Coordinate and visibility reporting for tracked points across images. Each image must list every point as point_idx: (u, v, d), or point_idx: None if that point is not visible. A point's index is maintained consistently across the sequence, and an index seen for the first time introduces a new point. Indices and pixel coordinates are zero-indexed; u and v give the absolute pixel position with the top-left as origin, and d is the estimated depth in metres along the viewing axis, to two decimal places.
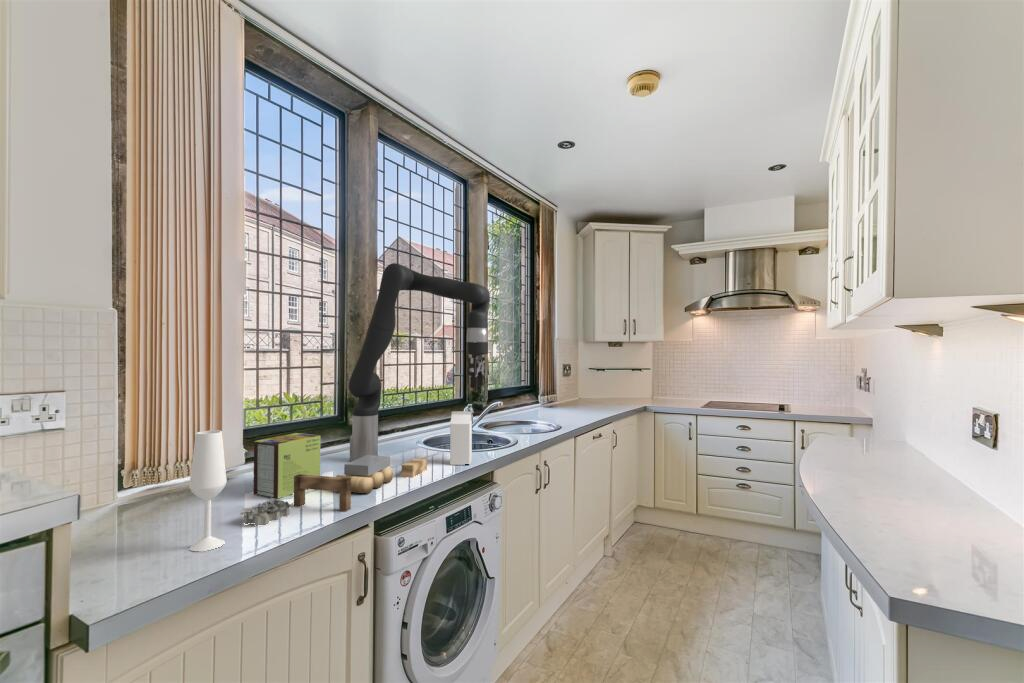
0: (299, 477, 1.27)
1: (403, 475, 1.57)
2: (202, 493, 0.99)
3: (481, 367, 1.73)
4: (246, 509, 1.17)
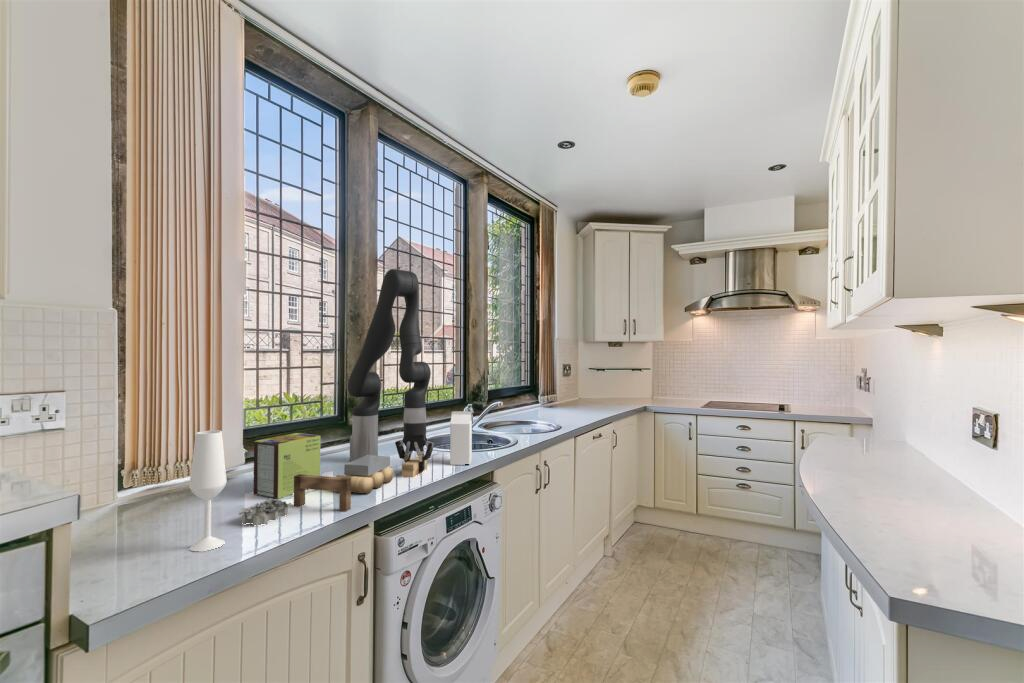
0: (299, 477, 1.27)
1: (403, 474, 1.57)
2: (202, 493, 0.99)
3: None
4: (244, 509, 1.17)
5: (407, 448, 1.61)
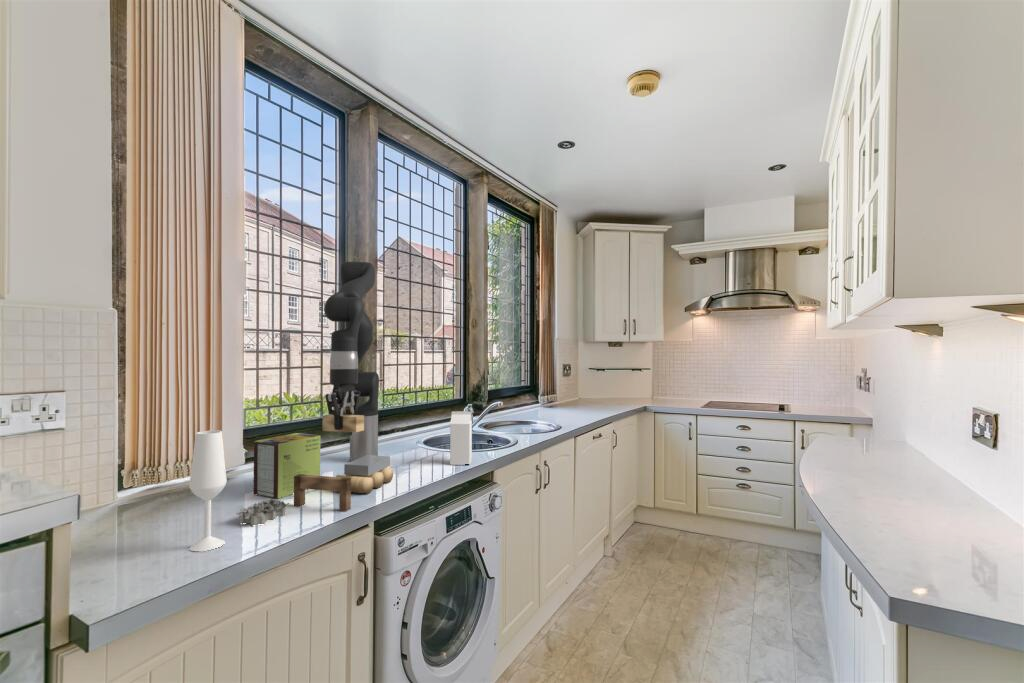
0: (299, 477, 1.27)
1: (357, 429, 1.33)
2: (202, 493, 0.99)
3: None
4: (242, 509, 1.17)
5: (345, 400, 1.33)
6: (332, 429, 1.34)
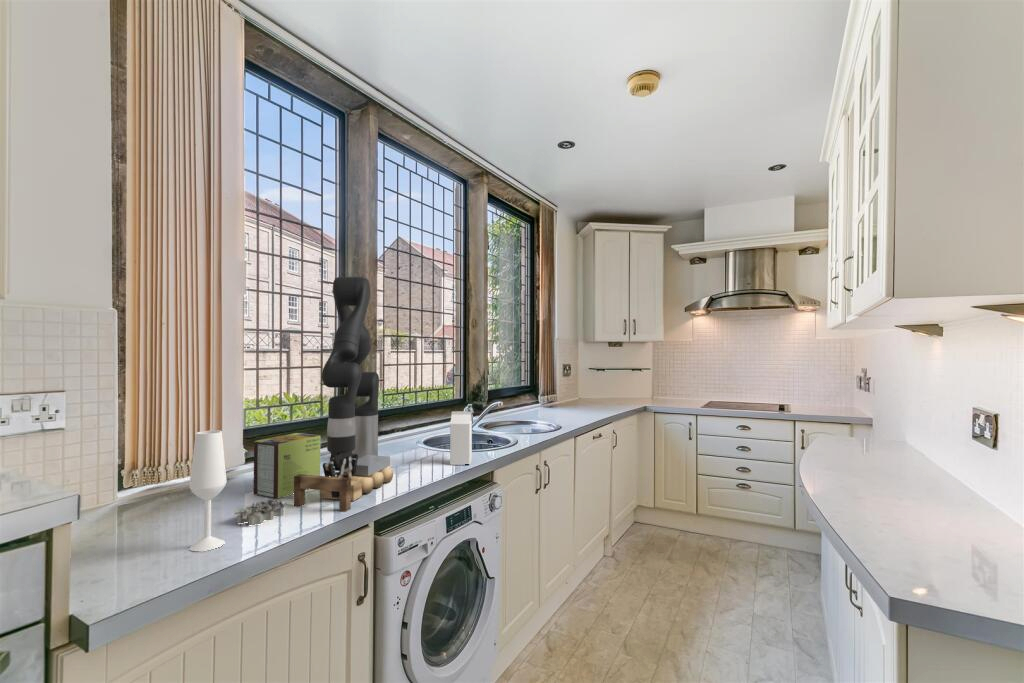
0: (299, 477, 1.27)
1: (354, 497, 1.32)
2: (202, 493, 0.99)
3: None
4: (240, 509, 1.17)
5: (342, 467, 1.33)
6: (330, 496, 1.33)
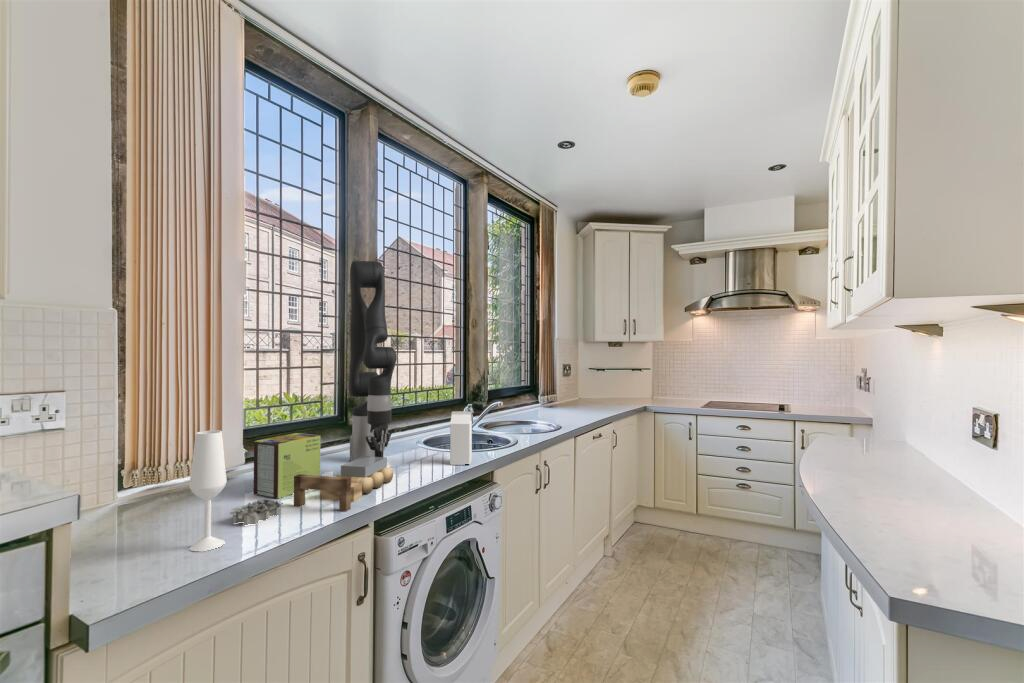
0: (299, 477, 1.27)
1: (355, 499, 1.32)
2: (202, 493, 0.99)
3: None
4: (236, 509, 1.17)
5: (382, 437, 1.53)
6: (330, 498, 1.33)
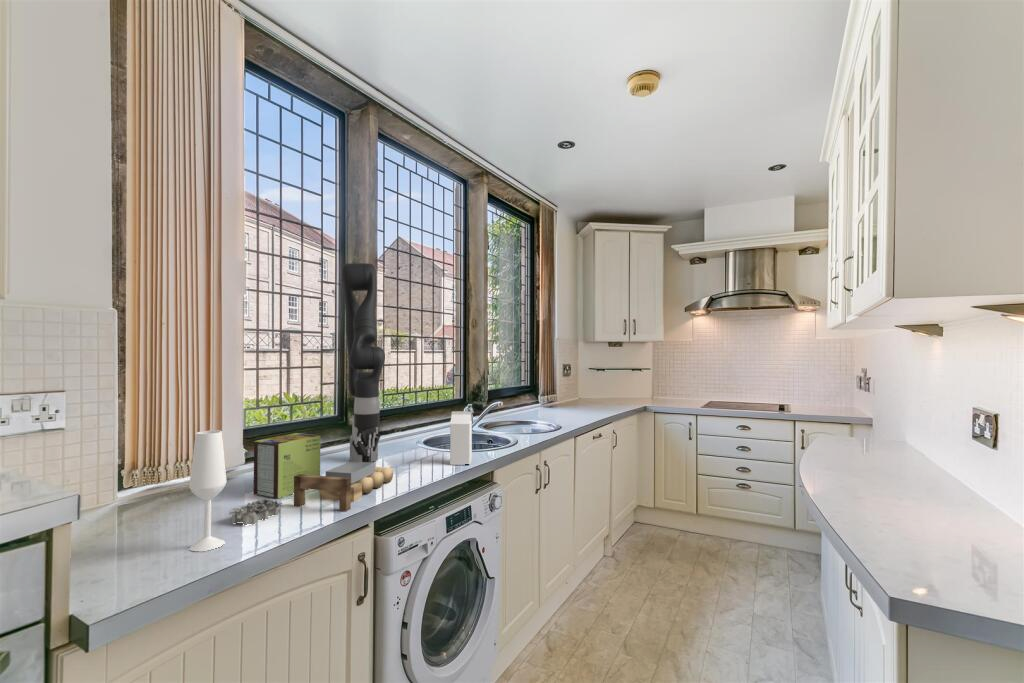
0: (299, 477, 1.27)
1: (355, 499, 1.32)
2: (202, 493, 0.99)
3: None
4: (235, 509, 1.17)
5: (369, 442, 1.46)
6: (330, 498, 1.33)
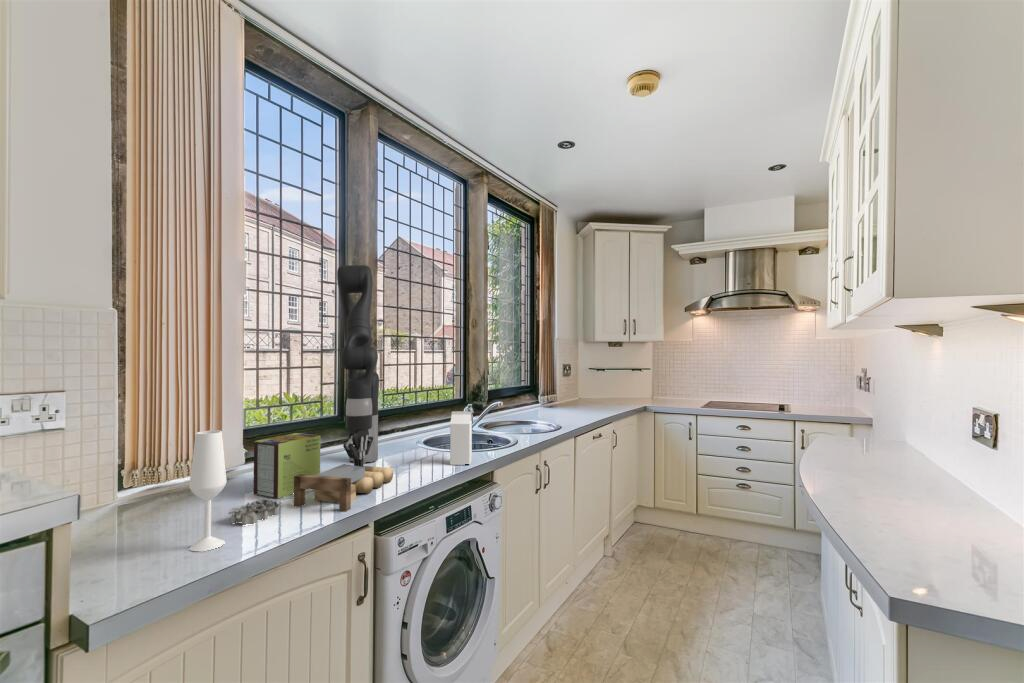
0: (299, 477, 1.27)
1: None
2: (202, 493, 0.99)
3: None
4: (234, 508, 1.17)
5: (361, 445, 1.42)
6: (324, 499, 1.32)
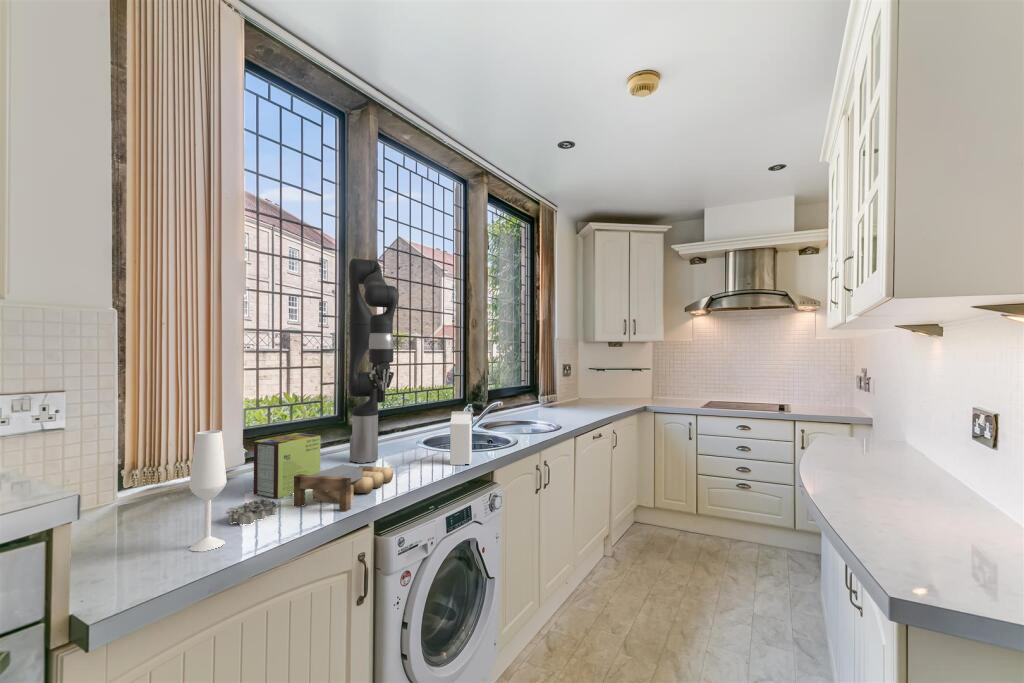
0: (299, 477, 1.27)
1: None
2: (202, 493, 0.99)
3: None
4: (232, 508, 1.17)
5: (384, 376, 1.51)
6: (321, 499, 1.32)
